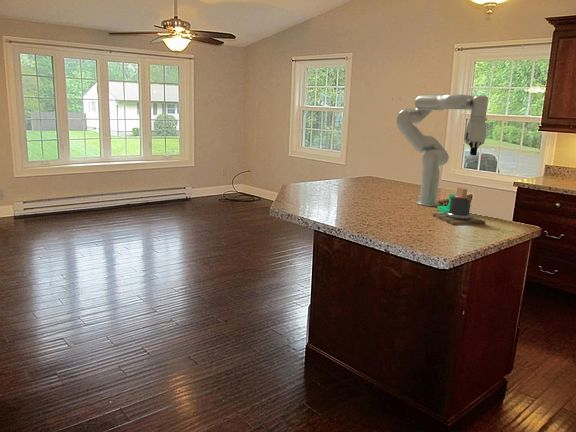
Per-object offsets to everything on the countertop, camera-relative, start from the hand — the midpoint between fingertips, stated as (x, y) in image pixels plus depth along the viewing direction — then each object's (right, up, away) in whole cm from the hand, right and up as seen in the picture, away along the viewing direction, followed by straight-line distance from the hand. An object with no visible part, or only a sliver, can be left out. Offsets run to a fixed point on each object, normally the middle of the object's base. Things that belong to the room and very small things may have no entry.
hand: (473, 155), depth 258 cm
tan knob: (-12, -27, -15) cm, 34 cm away
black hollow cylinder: (-13, -33, -14) cm, 38 cm away
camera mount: (-12, -31, +3) cm, 34 cm away
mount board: (-13, -35, -14) cm, 39 cm away
